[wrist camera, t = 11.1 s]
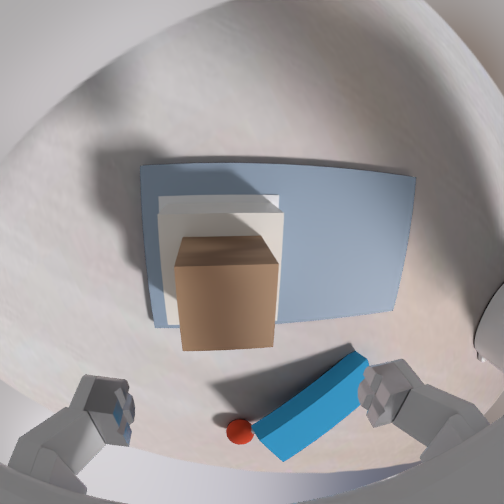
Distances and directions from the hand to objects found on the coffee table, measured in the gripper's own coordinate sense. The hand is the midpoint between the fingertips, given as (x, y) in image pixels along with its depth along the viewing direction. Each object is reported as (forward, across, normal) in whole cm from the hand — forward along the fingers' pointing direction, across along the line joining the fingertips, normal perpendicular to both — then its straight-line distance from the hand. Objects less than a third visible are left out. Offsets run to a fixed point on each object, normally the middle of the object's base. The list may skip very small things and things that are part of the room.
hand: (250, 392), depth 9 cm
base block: (+15, +1, +1) cm, 15 cm away
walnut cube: (+11, 0, 0) cm, 11 cm away
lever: (+16, -8, +20) cm, 27 cm away
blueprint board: (+16, -5, 0) cm, 17 cm away
